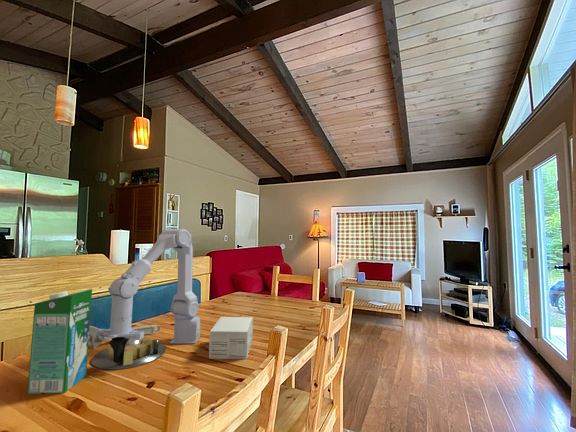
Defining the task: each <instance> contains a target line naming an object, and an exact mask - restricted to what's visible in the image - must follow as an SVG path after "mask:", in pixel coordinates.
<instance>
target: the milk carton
mask: <svg viewBox="0 0 576 432" xmlns="http://www.w3.org/2000/svg"><path fill="white" fill-rule="evenodd" d="M92 296H93V288H89V289H86V290H81V291H76V292H72V293H68V290H65V291H59V292H56V293H51V294H49V296H48V297H49V299H46V300H43V301H40V302H37V303H34V308H33V309H34V310H33V319H32V320H33V321H32V332H31V333H32V334H31V346H30V354H29V355H30V356H29V358H30V359H29V368H28V369H29V370H28V382H27V392H26V394H27V395H38V394H41V393H45V394H65V393H66V392H68V390H71V388H72V387H74V386H75V385H76V384H77V383H78V382H80V381H82V380H83V379H84V378H85V377H86V376H87V368H88V355H89V354H88V353H89V348H88V342H89V337H90V334H89V328H90V326H91V325H90V324H91V311H92V308H91V307H92V298H93V297H92ZM41 395H42V394H41Z"/></svg>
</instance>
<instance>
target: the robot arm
mask: <svg viewBox="0 0 576 432" xmlns="http://www.w3.org/2000/svg"><path fill="white" fill-rule="evenodd" d="M168 249H173V250H174V251H175V252H176V253H177V292H176V293H175V295H173V297H172V302H171V306H170V312H171V313H172V314H173V317H174V324H173V328H174V330H173V339H171V340H170V342H169V344H172V345H173V344H175V345H176V344H196V343H197V342H198V340H199V339H200V336H201V334H200V333H201V332H200V331H201V318H200V317H199V316H197V314H198V313H199V310H200V305H199V303H198V296H197V295H196V294H195V293H194V292H193V266H194V264H193V262H194V261H193V260H194V259H193V257H194V253H193V251H194V247H193V244H192V234H191V233H190V231H188V230H187V229H185V228H181V229H170V228H168V229H164V230H163V231H162V232H161V233H160V234H159V235H158V237H157V240H156V242H155V243H154V244H153V245H152V246H151V248H150V249H149V250H148V252H147V253H145V255H144V256H143V258H142V259H137V260H134V261H132V262H131V265H130V267H129V268H128V269H127V270H126V271H125V272H123V273H122V274H120V277H118V278H115V279H114V280H113V281H112V282H111V283H110V285H109V286H110V287H108V288H107V289H108V292H109V294H110V296H111V311H110V324H109V325H110V326H109V328H99V329H100V330H98V331H97V337H109V338H113V339H109V341H108V343H109V345H111V347H112V349H113V351H114V356H113V361H114V363H116V362H117V363H119V362H121V361H122V360H123V358H124V348H125V346H126V344H127V342H128V340H129V339H130V338H132V339H137V340H140V339H142V338H144V337H145V334H144V331H138V330H134V329H131V328H132V319H133V304H134V303H133V302H134V295H136V294H137V293H138V291H139V286H140V283H141V282H142V281H143V280H144V279H145V278H146V276H147V275H148V274H149V273H150V272H151V270H152V264H154V262H156V260H157V259H158V258H160V256H161V255H163V254H164V252H166V250H168ZM97 337H96V338H97Z"/></svg>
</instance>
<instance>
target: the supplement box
mask: <svg viewBox="0 0 576 432" xmlns="http://www.w3.org/2000/svg"><path fill="white" fill-rule="evenodd" d="M253 321H254V317H253V316H252V317H251V316H220V318H219V319H218V320H217V321H216V322H215V324H214V325H213V327H212V328H211V330H209V345H208V359H216V360H217V359H218V360H219V359H224V360H227V359H229V360H238V359H239V360H247V359H248V356H249V353H250V349H251V346H252V342H253V335H254V333H253V331H254V330H253V325H254V324H253V323H254V322H253Z"/></svg>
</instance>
